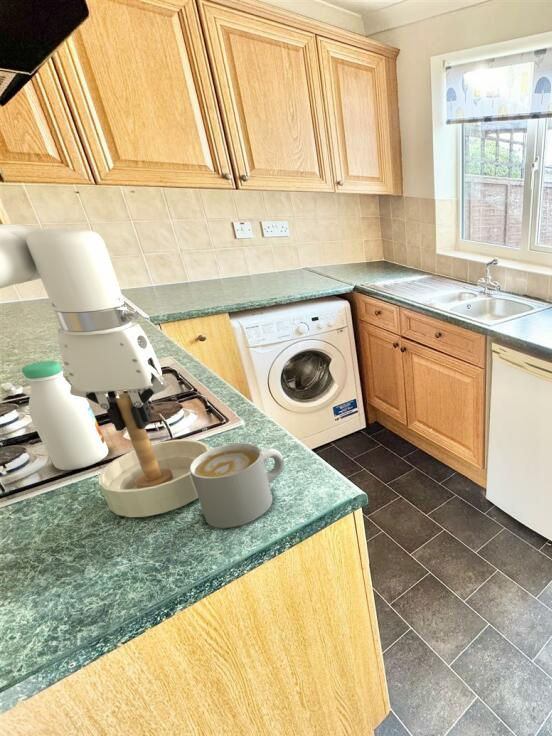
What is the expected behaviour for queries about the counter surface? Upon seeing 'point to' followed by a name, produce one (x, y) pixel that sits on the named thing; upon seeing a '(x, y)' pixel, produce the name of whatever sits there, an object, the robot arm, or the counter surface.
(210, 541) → the counter surface
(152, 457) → the wooden masher
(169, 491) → the bowl
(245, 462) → the coffee mug
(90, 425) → the milk bottle
